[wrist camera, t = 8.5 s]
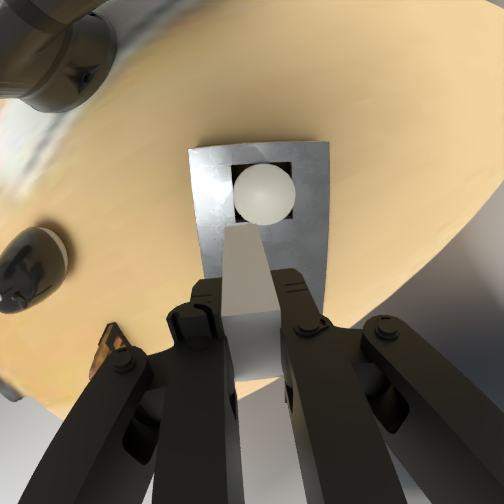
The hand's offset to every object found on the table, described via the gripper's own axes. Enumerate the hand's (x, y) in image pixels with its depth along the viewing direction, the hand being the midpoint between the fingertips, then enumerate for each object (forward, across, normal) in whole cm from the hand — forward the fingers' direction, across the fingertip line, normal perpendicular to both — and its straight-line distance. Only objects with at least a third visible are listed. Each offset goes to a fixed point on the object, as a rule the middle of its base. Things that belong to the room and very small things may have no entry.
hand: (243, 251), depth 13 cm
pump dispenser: (+21, -30, -6) cm, 37 cm away
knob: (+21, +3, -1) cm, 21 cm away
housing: (+21, +2, -8) cm, 22 cm away
